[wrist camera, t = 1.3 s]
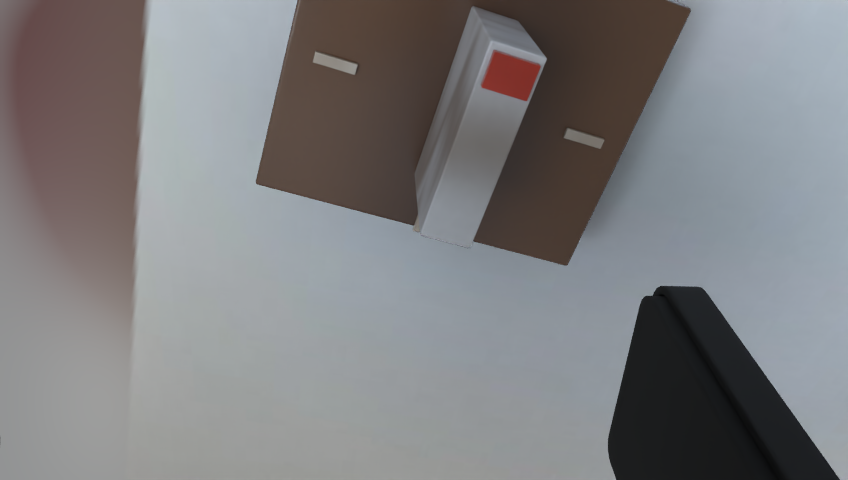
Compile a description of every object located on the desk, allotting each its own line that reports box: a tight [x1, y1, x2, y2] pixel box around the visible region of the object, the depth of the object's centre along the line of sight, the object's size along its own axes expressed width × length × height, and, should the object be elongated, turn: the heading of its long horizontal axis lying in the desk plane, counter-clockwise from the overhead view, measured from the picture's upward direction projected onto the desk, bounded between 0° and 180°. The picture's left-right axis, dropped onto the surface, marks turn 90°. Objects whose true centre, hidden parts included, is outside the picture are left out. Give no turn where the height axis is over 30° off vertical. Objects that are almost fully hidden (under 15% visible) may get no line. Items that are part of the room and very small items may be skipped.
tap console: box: [256, 0, 691, 266], centre depth 25 cm, size 12×10×3 cm
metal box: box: [414, 6, 547, 248], centre depth 22 cm, size 6×2×5 cm, turn 162°
